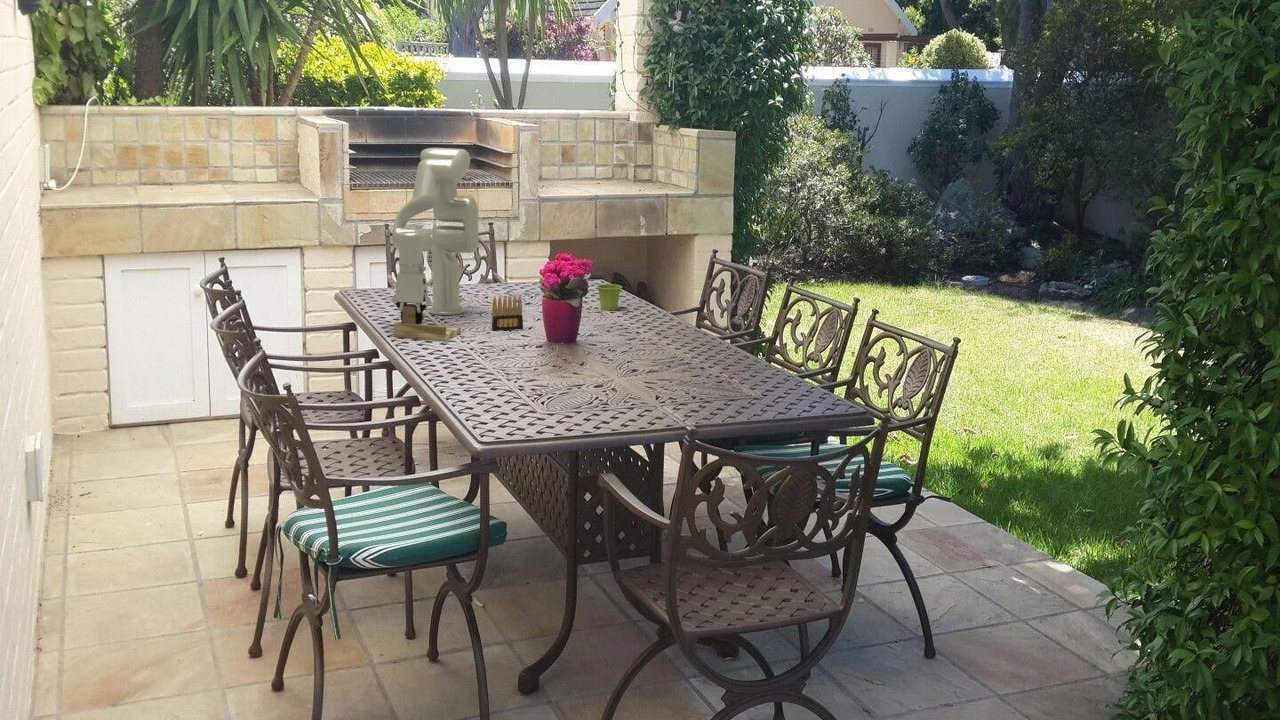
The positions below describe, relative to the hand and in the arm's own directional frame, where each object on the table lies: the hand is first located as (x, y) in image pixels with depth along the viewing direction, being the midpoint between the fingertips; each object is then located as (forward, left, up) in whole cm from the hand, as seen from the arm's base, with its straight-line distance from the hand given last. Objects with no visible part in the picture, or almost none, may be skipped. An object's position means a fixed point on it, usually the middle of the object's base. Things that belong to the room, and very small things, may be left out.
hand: (411, 322), depth 427 cm
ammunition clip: (-18, +27, -4) cm, 33 cm away
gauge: (-3, 0, -1) cm, 4 cm away
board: (0, +6, -4) cm, 7 cm away
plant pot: (-67, +48, -4) cm, 83 cm away
